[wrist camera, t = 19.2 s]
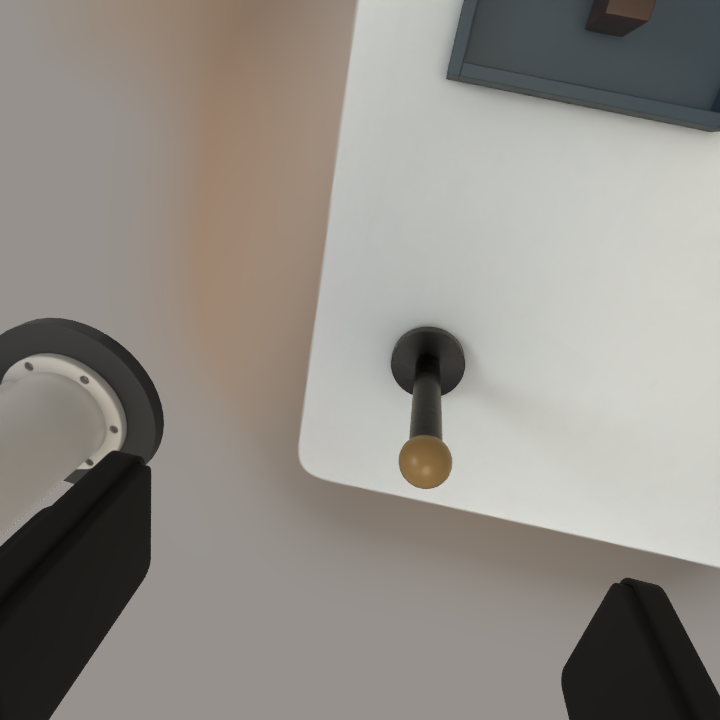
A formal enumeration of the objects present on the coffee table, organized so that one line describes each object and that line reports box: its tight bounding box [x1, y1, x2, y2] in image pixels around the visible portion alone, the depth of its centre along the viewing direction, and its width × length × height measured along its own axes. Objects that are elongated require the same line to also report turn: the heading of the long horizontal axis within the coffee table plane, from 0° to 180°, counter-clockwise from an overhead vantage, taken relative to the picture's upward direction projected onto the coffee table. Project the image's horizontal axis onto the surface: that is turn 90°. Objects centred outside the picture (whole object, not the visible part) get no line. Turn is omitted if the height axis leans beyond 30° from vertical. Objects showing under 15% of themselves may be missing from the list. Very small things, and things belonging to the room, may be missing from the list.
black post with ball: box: [391, 327, 465, 489], centre depth 33 cm, size 6×6×16 cm
